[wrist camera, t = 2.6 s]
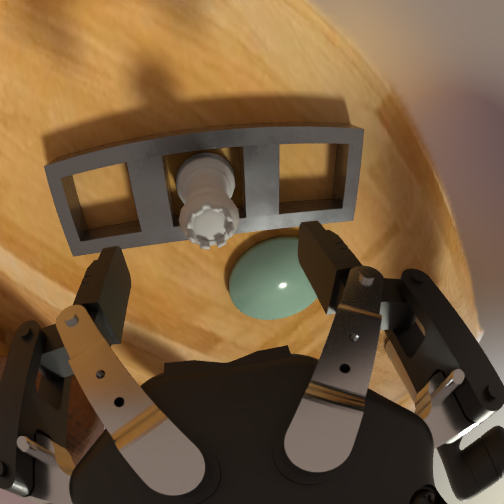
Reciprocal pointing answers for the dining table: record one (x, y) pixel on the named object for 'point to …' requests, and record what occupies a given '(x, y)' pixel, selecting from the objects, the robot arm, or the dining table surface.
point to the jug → (75, 419)
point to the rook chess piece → (207, 200)
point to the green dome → (270, 280)
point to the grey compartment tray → (158, 146)
